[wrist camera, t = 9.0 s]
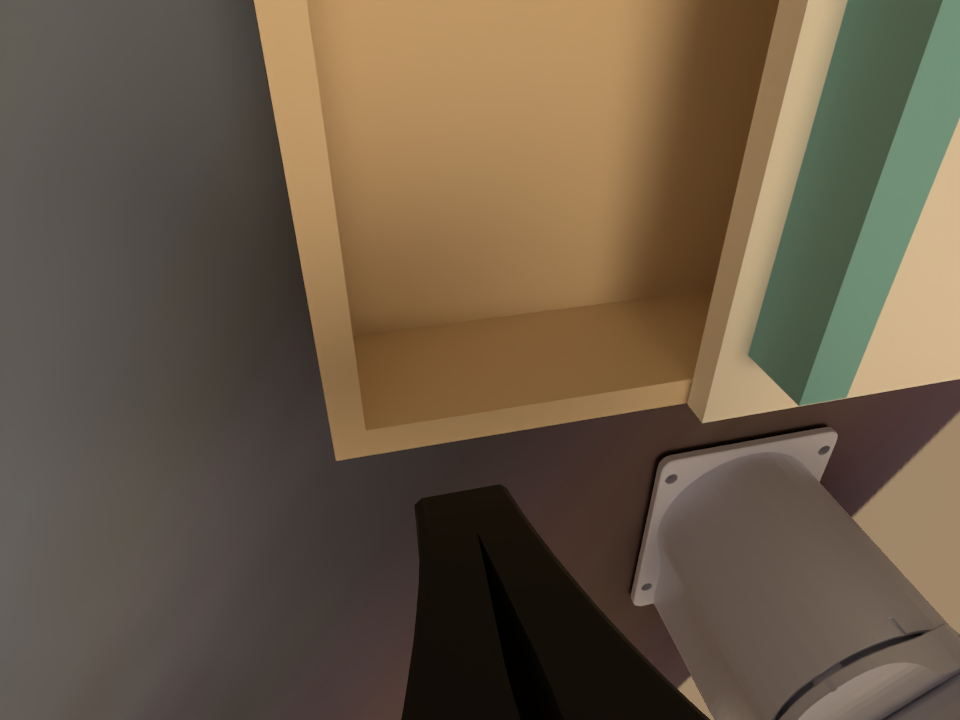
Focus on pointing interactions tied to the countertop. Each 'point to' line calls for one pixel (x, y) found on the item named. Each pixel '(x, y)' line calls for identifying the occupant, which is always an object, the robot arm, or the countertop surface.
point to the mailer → (508, 201)
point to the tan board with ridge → (842, 214)
